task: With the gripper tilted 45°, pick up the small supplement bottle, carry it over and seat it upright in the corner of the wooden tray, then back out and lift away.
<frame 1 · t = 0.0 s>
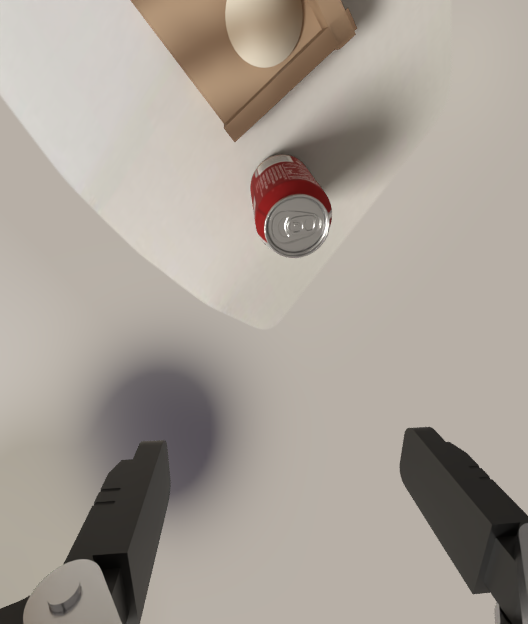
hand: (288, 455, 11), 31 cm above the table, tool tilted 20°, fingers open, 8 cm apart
soda can: (279, 185, 36), on the table
wooden tray: (263, 20, 27), on the table
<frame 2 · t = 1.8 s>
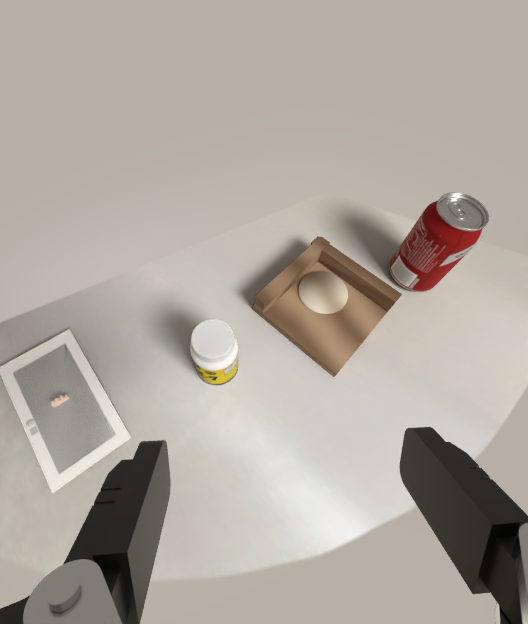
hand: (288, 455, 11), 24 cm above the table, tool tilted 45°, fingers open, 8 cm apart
supplement bottle: (217, 367, 37), on the table
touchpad: (67, 404, 34), on the table
soda can: (410, 275, 45), on the table
wooden tray: (321, 296, 42), on the table
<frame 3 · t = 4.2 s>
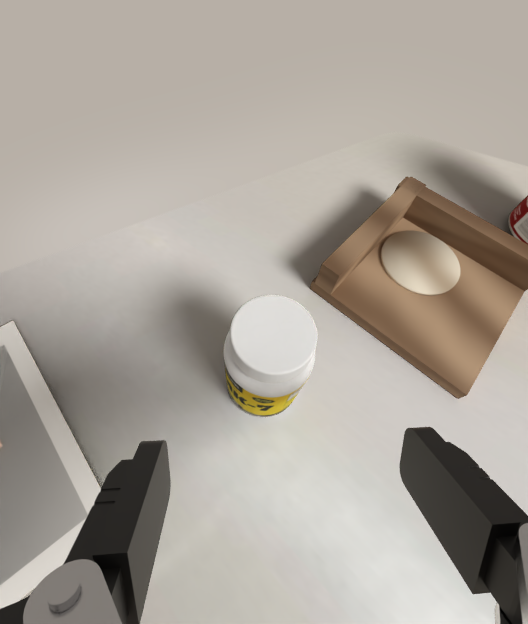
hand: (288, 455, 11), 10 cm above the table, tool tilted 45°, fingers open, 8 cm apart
supplement bottle: (262, 383, 22), on the table
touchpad: (4, 453, 19), on the table
wooden tray: (413, 269, 27), on the table
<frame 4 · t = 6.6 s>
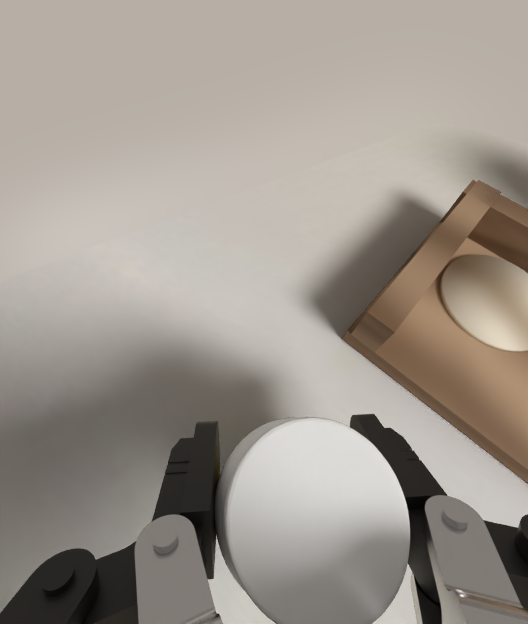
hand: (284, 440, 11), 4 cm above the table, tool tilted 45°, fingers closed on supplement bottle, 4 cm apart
supplement bottle: (277, 496, 14), on the table, touching gripper
wooden tray: (483, 309, 20), on the table
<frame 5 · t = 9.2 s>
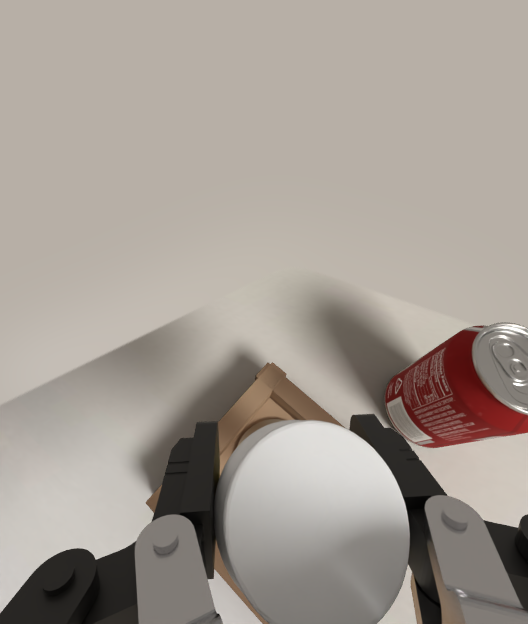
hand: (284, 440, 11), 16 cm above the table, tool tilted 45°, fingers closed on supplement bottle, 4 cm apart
supplement bottle: (276, 498, 14), point 12 cm above the table, touching gripper
soda can: (417, 408, 29), on the table
wooden tray: (273, 463, 26), on the table
when the fingers open (7 cm above the table, at t = 12.0 s): supplement bottle drops 1 cm, resting on wooden tray.
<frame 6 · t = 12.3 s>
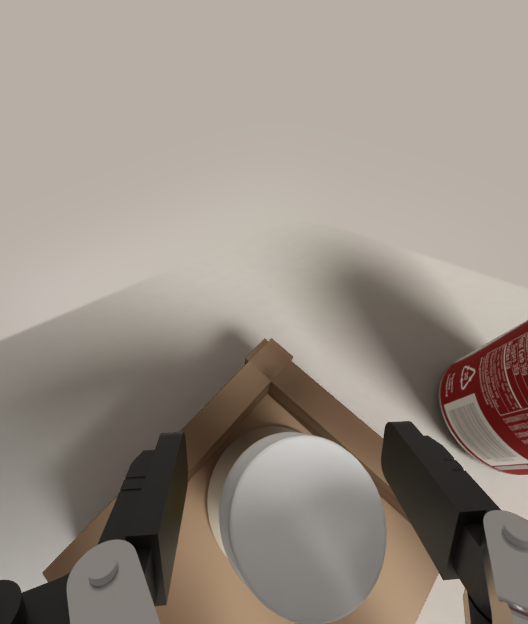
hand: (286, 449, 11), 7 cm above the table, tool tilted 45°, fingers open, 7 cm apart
supplement bottle: (275, 501, 15), point 1 cm above the table, touching wooden tray
soda can: (485, 413, 19), on the table
wooden tray: (271, 494, 16), on the table
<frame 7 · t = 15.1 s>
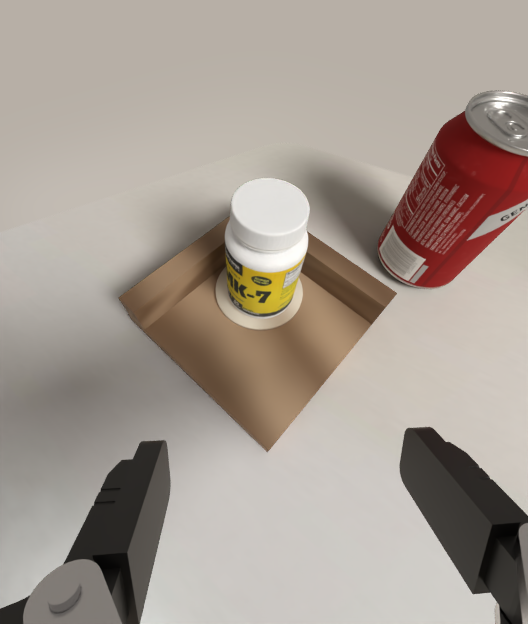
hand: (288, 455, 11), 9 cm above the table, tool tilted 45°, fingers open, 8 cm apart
supplement bottle: (260, 293, 23), point 1 cm above the table, touching wooden tray
soda can: (411, 261, 27), on the table
wooden tray: (258, 298, 24), on the table
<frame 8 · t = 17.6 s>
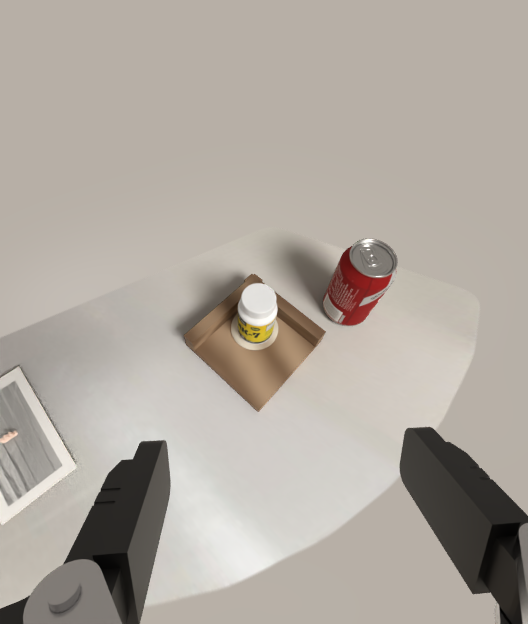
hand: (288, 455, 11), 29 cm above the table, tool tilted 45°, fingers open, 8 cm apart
supplement bottle: (255, 329, 43), point 1 cm above the table, touching wooden tray
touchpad: (18, 438, 37), on the table
soda can: (343, 308, 47), on the table
wooden tray: (254, 331, 44), on the table
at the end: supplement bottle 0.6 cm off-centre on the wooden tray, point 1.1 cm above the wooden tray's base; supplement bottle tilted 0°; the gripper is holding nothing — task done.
